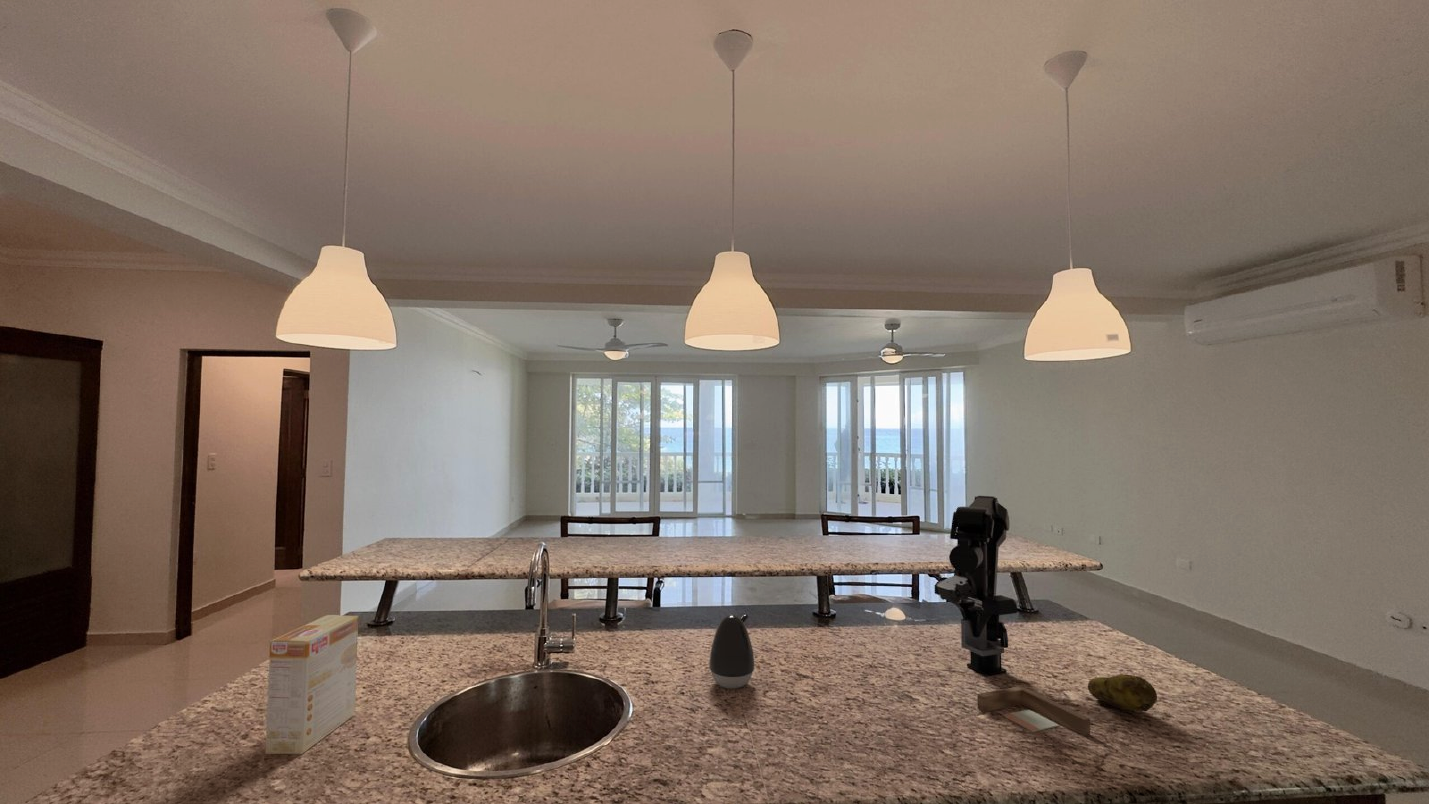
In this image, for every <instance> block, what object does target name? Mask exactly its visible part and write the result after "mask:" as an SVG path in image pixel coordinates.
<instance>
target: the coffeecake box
mask: <svg viewBox="0 0 1429 804" xmlns="http://www.w3.org/2000/svg"><path fill="white" fill-rule="evenodd" d="M358 632H359V615H342V614H327V615H324V616H321V617H320V618H318V619H316V620H313V621H311V622H309V623H307V624H304V625H302V626H300V627H298V628H296V629H293V630H291V631H289V632H287V633H285V634H283V635H280V636H278V637H276V638H274V639H271V640H269V654H268V656H269V659H268V661H269V662H268V681H267V683H268V685H267V704H266V705H267V706H266V728H265V730H266V731H265V735H266V736H265V752H264V753H265V755H266V754H267V755H268V754H269V755H280V754H281V755H303V754H304V753H306V751H308V750H310V749H311V748H312V747H313V746H315V745H316V744H317V743H319V742H320V741H321V740H323V739H324V738H325V737H327V736H328V735H330V734H331V733H332V732H333V731H335V730H337V729H338V728H339V727H340V726H342V725H343V724H344V723H346V722H347V721H348V720H350V719H351V718H353V717H354V716H355V715H356V693H357V692H356V691H357V689H356V688H357V669H358V668H357V666H358V663H357V660H358V637H359V636H358V635H359V634H358Z"/></svg>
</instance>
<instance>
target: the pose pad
mask: <svg viewBox="0 0 1429 804" xmlns="http://www.w3.org/2000/svg"><path fill="white" fill-rule="evenodd" d="M1002 717H1005V718H1006V719H1008V720H1009V721H1011V722H1013V723H1015V724H1017V725H1019V726H1020V727H1022V728H1024V729H1026V730H1027V731H1029V732H1031V733H1035V732H1040V731H1043V730H1048V729H1053V728H1057V727H1060V725H1059V723H1057V722H1055V721H1053V720H1051V719H1049V718H1047V717H1045V716H1044V715H1042V714H1040V713H1038V712H1037V713H1036V711H1034V710H1032V709H1030V708H1028V709H1025V710H1019V711H1014V712H1010V713H1004V714H1002Z"/></svg>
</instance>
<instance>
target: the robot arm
mask: <svg viewBox="0 0 1429 804" xmlns="http://www.w3.org/2000/svg"><path fill="white" fill-rule="evenodd" d="M950 528H951V529H950V535H949V538H950V540H957V543H956V546H954V547H953V548H952V549H951V551H950V552H949V555H948V560H949V562H950V563H949V564H950V565H951V566H952V568H954V570H953V575H952V576H951V577H947V578H946V579H944V580H937V581H936V583H935V584H934V594H935V595H937V596H939V597H940V599H941V600H943V601H944V600H946V601H948V602H949V603H951V604H954V606H956V608H958V610H959V612H960V613H961V614H960V615H961V616H962V619H966V618H973V632H974V637H979V636H980V634H981V632H982V630H983V628H984V627H985V625H986V631H987V641H988V642H991V643H993V644H995V645H998V646H1000V647H1003V648H1004V649H1006V648H1009V636H1008V629H1007V628H1006V626H1005V622H1003V617H1002V616H1004V615H1012V614H1017V613H1018V603H1017V601H1016V600H1015V599H1014V598H1011V597H1007V596H1004V595H1001V594H1000V595H997V588H998V587H997V585H998V584H997V583H998V580H997V579H998V568H999V563H998V562H999V549H1000V547H1001V545H1002V544H1003V543H1004V542H1005V541H1006V540H1007V531H1010V516H1009V511H1008V508H1006V507H1004V506H1003V505H1002V504H1001V503H999V501H998V497H995V496H989V495H988V496H987V495H977V496H974V500H973V501H972V503H971V504H969V506H957V508H955V511H953V514H952V520H951V527H950ZM969 652H970V655H969V656H970V662H968V663H966V667H968V668H969V669H970V668H971V669H972V670H974V671H977V672H978V673H980V674H983V675H984V676H991V675H997V674H1005V673H1007V672H1008V670H1007V669H1006V668H1004V667H1002V653H1001V654H995V655H989V656H981V655H978V654H976V653H974V652H972V651H970V650H969Z"/></svg>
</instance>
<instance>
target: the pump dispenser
mask: <svg viewBox="0 0 1429 804" xmlns="http://www.w3.org/2000/svg"><path fill="white" fill-rule="evenodd" d="M748 618H749V616H748V614H743V615H742V616H741V617H739V616H738V615H734V614H729V615H726V616H725V617H723V618H722V619H721V621H720V623H719V624H718V626H717V628H716V631H715V634H714V637H713V640H712V643H711V649H710V654H709V662H708V663H709V665H708V666H709V667H708V668H709V671H710V673H711V677H712V678H713V680H714V682H715V683H716V684H717V685H719V686H721V687H722V688H725V689H732V690H734V689H740V688H743V687H744V686H746V685H747V684H748V683H749V682H750V680H751V679H752V676H753V673H754V671H755V657H754V650H753V645H752V642H751V637H750V634H749V632H748V629H747V626H746V624H745V622H746V621H747V620H748Z"/></svg>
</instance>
